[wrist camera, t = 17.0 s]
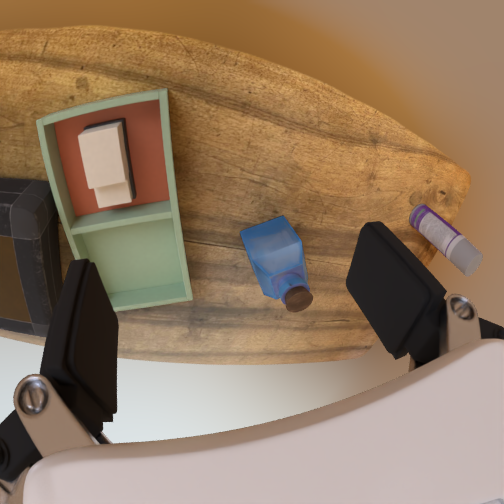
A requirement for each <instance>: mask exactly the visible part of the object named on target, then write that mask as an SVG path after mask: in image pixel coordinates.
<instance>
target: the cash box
mask: <svg viewBox="0 0 504 504" xmlns="http://www.w3.org/2000/svg"><path fill="white" fill-rule="evenodd" d="M62 287H63V285H62V276H61V267H60V257H59V244H58V223H57V207H56V203H55V200H54V197H53V193H52V190H51V186H50V183H49V182H47V181H40V180H28V179H14V178H0V329H4V330H8V331H13V332H18V333H24V334H29V335H35V336H41V337H47V333H48V329H49V325H50V321H51V317H52V313H53V310H54V307H55V305H56V304H57V303H58V301H59V298H60V294H61V291H62Z"/></svg>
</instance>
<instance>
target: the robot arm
mask: <svg viewBox="0 0 504 504" xmlns="http://www.w3.org/2000/svg"><path fill="white" fill-rule="evenodd" d="M346 286H347V289H348V291H349V292H350V294H351V295H352V297H353V298H354V300H355V301H356V303H357V304H358V306H359V307H360V309H361V310H362V312H363V313H364V315H365V316H366V318H367V320H368V321H369V323H370V324H371V326H372V327H373V329H374V330H375V332H376V334H377V335H378V337H379V338H380V340H381V342H382V343H383V345H384V346H385V348H386V350H387V351H388V352H389V353H391V354H392V355H393V356H394V358H395V360H396V359H399V358H401V357H403V356H405V355H406V354H407V353H408V352H409V354H410V364H409V372H408V373H406V374H404V375H402V376H400V377H398V378H396V379H393V380H391V381H389V382H386V383H384V384H382V385H380V386H377V387H375V388H372V389H370V390H367V391H365V392H362V393H360V394H357V395H354V396H352V397H349V398H346V399H344V400H341V401H338V402H335V403H332V404H329V405H326V406H323V407H320V408H317V409H314V410H311V411H308V412H304V413H301V414H297V415H294V416H290V417H287V418H283V419H279V420H276V421H271V422H267V423H264V424H259V425H254V426H250V427H245V428H241V429H236V430H230V431H225V432H219V433H213V434H207V435H200V436H193V437H185V438H177V439H168V440H160V441H159V440H158V441H148V442H131V443H116V444H113V443H112V442H111V441H110V440H109V439H108V438H107V437H106V436H105V434H104V433H103V432H102V430H103V422H113V414H115V413H116V412H117V347H118V328H119V325H118V319H117V316H116V314H115V311H114V309H113V307H112V305H111V302H110V300H109V297H108V295H107V293H106V290H105V288H104V285H103V283H102V280H101V277H100V275H99V272H98V269H97V267H96V264H95V263H94V262H90V260H89V259H88V258H85V259H78V260H72V261H71V263H70V265H69V268H68V271H67V275H66V278H65V281H64V284H63V287H62V291H61V294H60V298H59V301H58V303H57V304H56V305H55V307H54V310H53V313H52V317H51V321H50V325H49V329H48V333H47V338H46V342H45V347H44V352H43V357H42V362H41V368H40V374H32V375H28V376H26V377H25V378H23V379H22V380H21V381H20V382H19V383H18V385H17V387H16V389H15V392H14V397H13V398H14V406H15V410H14V411H13V412H12V413H11V414H10V415H9V416H8V417H7V418H6V419H5V420H4V421H3V422H2V423H1V424H0V504H504V328H503V327H502V326H499V325H497V324H494V323H491V322H489V321H487V320H484V319H482V318H479V317H478V313H477V310H476V308H475V306H474V304H473V303H472V302H471V301H470V300H469V299H468V298H466V297H465V296H462V295H460V294H451V295H450V296H448V298H447V299H446V300H445V299H444V298H443V297H444V296H445V294H446V292H447V291H446V290H445V288H444V287H443V286H442V285H441V284H440V283H439V281H438V280H437V279H436V278H435V277H434V276H433V275H432V274H431V272H429V270H428V269H427V268H426V267H425V266H424V265H423V264H422V263H421V262H420V261H419V259H418V258H417V257H416V256H415V255H414V254H413V253H412V252H411V251H410V250H409V249H408V248H407V247H406V246H405V245H404V244H403V243H402V242H401V241H400V240H399V239H398V238H397V237H396V236H395V235H394V234H393V233H392V232H391V231H390V230H389V229H388V228H387V227H386V226H385V225H384V224H383V223H382V222H380V221H376V222H367V223H366V224H365V225H364V227H362V228H361V231H360V234H359V238H358V242H357V245H356V249H355V252H354V256H353V259H352V262H351V266H350V269H349V272H348V276H347V279H346Z"/></svg>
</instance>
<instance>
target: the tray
mask: <svg viewBox="0 0 504 504" xmlns="http://www.w3.org/2000/svg"><path fill="white" fill-rule="evenodd" d="M119 118H125V121H126V129H127V137H128V144H129V151H130V158H131V164H132V170H133V176H134V182H135V188H136V193H137V195H136V199H132V202H130V203H124V204H119V205H113V206H108V207H103V208H99V207H98V203H97V199H96V195H95V191H94V188H92V189H89V187H88V183H87V179H86V175H85V170H84V166H83V161H82V156H81V151H80V145H79V140H78V135H80V134H81V133H82V132H83V131H84V129H83V128H84V127H86V126H88V125H92V124H96V123H101V122H105V121H110V120H114V119H119ZM36 124H37V129H38V135H39V140H40V145H41V150H42V154H43V159H44V163H45V167H46V171H47V175H48V179H49V183H50V186H51V190H52V193H53V197H54V200H55V203H56V207H57V210H58V213H59V216H60V219H61V222H62V225H63V228H64V231H65V234H66V236H67V239H68V242H69V245H70V247H71V250H72V252H73V255H74V257H75V260H78V259H85V258H88V259H89V260H90V262H94V263H95V264H96V267H97V269H98V272H99V275H100V277H101V280H102V283H103V285H104V288H105V290H106V293H107V295H108V297H109V300H110V302H111V305H112V307H113V309H114V311H115V312H116V311H123V310H130V309H137V308H144V307H151V306H158V305H164V304H171V303H177V302H183V301H187V300H188V301H189V300H193V295H192V289H191V283H190V277H189V271H188V265H187V259H186V253H185V246H184V240H183V233H182V226H181V219H180V212H179V204H178V196H177V188H176V179H175V170H174V161H173V151H172V140H171V129H170V116H169V102H168V88H164V89H156V90H150V91H143V92H137V93H132V94H126V95H121V96H116V97H112V98H107V99H102V100H98V101H94V102H90V103H86V104H82V105H78V106H75V107H71V108H68V109H64V110H61V111H58V112H54V113H51V114H48V115H46V116H44V117H42V118H40V119H38V120H37V121H36Z"/></svg>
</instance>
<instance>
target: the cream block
mask: <svg viewBox="0 0 504 504" xmlns="http://www.w3.org/2000/svg"><path fill="white" fill-rule="evenodd" d="M83 129H84V131H83V132H82V133H81V134H80V135H78V140H79V145H80V151H81V156H82V161H83V166H84V170H85V175H86V179H87V183H88V187H89V189H92V188H94V191H95V195H96V199H97V203H98V207H99V208H103V207H108V206H113V205H119V204H124V203H130V202H132V199H136V195H137V193H136V188H135V182H134V176H133V170H132V164H131V158H130V151H129V144H128V137H127V129H126V121H125V118H119V119H114V120H110V121H105V122H101V123H96V124H92V125H88V126H86V127H84V128H83Z"/></svg>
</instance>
